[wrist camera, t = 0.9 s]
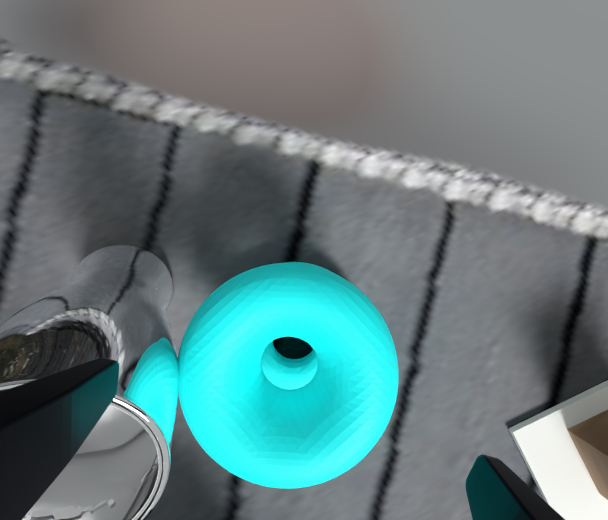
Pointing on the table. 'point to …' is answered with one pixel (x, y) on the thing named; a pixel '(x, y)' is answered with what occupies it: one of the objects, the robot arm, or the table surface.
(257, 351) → the donuts
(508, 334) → the table surface
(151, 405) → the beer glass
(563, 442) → the white mat
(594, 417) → the walnut block
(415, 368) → the table surface
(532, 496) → the robot arm
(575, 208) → the table surface
